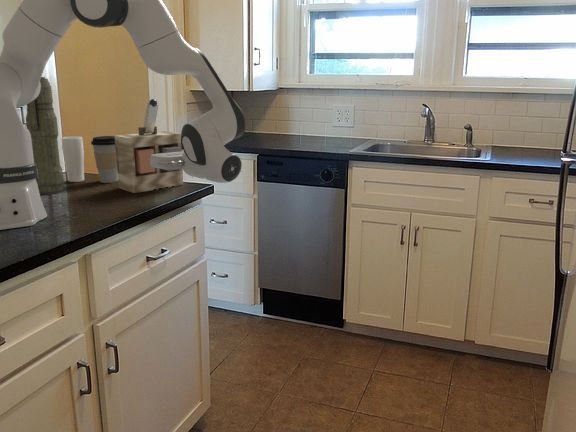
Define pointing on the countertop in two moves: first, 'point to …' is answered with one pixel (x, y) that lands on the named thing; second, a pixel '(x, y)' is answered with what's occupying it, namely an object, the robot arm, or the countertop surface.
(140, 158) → the key terracotta
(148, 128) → the toggle lever
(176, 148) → the key charcoal
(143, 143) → the console
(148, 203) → the countertop surface
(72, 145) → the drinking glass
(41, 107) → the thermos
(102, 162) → the coffee cup
